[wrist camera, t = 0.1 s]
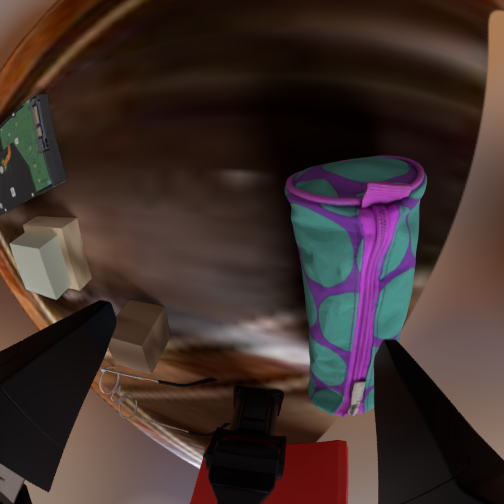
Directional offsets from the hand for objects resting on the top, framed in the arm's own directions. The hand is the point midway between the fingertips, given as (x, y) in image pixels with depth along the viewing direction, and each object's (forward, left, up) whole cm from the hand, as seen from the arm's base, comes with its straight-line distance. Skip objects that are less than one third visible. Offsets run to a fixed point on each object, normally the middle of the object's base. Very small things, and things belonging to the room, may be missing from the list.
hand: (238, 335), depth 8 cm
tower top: (-7, +24, -12) cm, 28 cm away
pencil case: (-6, -7, -15) cm, 18 cm away
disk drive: (+4, +29, -15) cm, 33 cm away
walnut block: (-15, +13, -15) cm, 25 cm away
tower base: (-7, +24, -15) cm, 29 cm away
